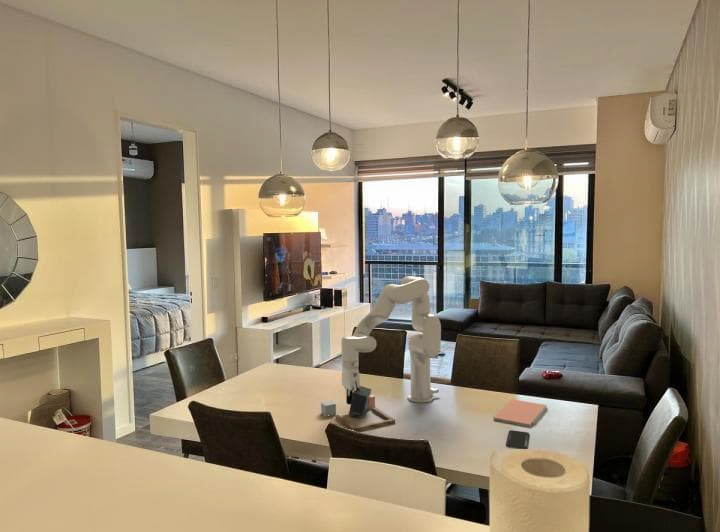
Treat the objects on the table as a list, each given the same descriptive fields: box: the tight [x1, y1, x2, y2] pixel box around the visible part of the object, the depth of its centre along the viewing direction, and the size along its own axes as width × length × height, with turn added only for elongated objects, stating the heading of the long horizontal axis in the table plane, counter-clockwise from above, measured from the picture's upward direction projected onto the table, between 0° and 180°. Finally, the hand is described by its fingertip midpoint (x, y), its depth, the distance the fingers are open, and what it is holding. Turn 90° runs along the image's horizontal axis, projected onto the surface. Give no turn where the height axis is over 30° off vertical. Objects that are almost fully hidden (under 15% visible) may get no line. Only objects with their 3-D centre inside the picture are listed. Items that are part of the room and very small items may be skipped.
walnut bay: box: [334, 407, 396, 432], centre depth 224 cm, size 20×18×2 cm
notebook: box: [492, 399, 548, 428], centre depth 229 cm, size 27×17×2 cm, turn 147°
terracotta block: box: [368, 393, 376, 409], centre depth 242 cm, size 5×5×5 cm
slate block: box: [320, 400, 337, 417], centre depth 233 cm, size 5×5×5 cm
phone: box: [505, 429, 530, 450], centre depth 201 cm, size 8×1×15 cm
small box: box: [348, 385, 372, 419], centre depth 232 cm, size 11×6×10 cm, turn 165°
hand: (350, 403), depth 235 cm, fingers closed
